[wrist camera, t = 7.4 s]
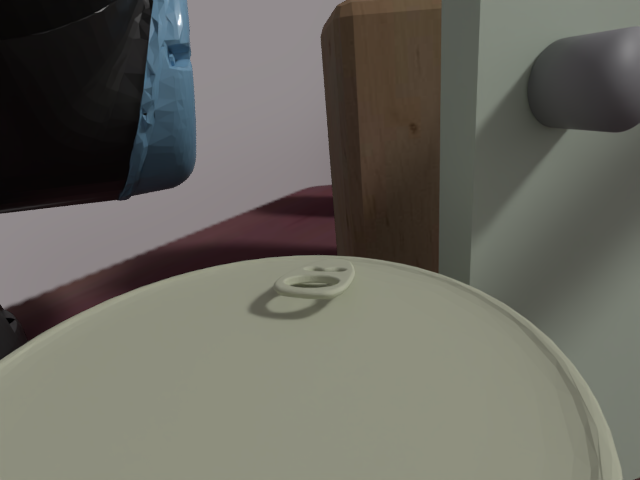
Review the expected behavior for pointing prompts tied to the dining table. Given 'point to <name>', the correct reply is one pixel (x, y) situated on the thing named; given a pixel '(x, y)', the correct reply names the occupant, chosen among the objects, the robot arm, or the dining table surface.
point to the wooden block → (385, 128)
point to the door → (550, 180)
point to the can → (300, 383)
